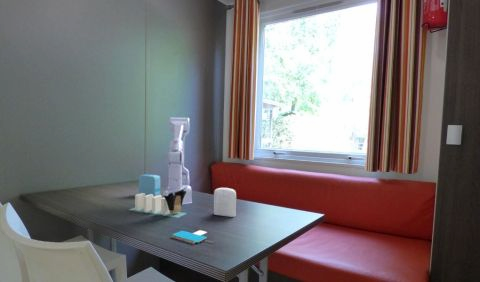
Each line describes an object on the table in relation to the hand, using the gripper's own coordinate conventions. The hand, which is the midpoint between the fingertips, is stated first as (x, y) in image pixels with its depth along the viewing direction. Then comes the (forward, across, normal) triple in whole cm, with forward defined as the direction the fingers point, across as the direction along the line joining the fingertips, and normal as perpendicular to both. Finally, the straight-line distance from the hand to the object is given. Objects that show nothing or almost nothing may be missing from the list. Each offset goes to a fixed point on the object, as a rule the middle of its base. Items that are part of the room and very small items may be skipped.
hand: (175, 208), depth 132 cm
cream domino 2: (+3, 0, -15) cm, 15 cm away
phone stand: (+4, +18, +21) cm, 28 cm away
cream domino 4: (+3, 0, -5) cm, 6 cm away
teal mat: (+3, 0, -10) cm, 10 cm away
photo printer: (+3, -9, +20) cm, 22 cm away
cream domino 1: (+3, 0, -20) cm, 20 cm away
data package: (+3, -23, -34) cm, 42 cm away
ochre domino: (+2, 0, 0) cm, 2 cm away
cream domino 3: (+3, 0, -10) cm, 10 cm away
